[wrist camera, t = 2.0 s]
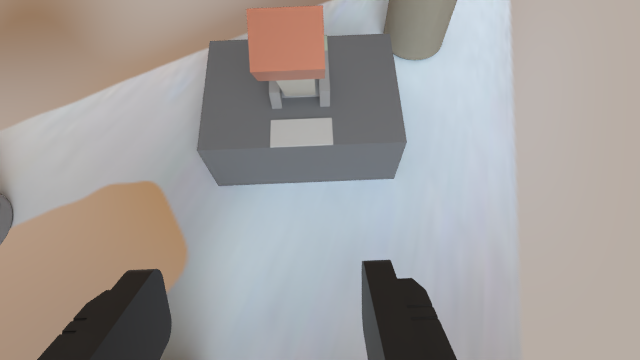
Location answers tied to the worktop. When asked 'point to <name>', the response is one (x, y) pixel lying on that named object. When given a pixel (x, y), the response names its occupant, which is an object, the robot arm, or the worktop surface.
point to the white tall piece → (287, 47)
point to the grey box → (303, 117)
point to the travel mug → (417, 26)
